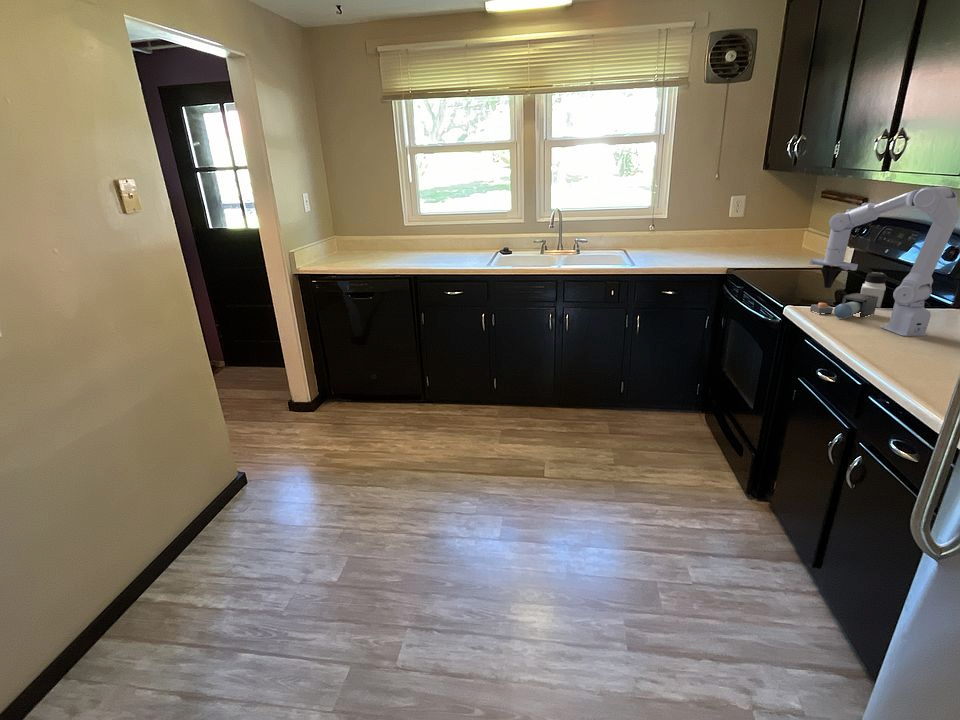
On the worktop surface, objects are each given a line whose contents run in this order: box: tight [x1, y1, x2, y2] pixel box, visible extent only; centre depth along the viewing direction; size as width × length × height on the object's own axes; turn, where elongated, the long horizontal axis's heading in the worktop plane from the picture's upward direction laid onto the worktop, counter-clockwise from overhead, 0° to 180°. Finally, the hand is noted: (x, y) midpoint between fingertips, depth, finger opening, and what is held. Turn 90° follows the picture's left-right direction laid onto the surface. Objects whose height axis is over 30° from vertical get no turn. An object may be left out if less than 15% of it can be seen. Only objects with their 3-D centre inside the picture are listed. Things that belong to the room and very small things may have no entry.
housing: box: [841, 292, 879, 318], centre depth 182 cm, size 9×7×6 cm
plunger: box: [818, 302, 828, 307], centre depth 185 cm, size 3×3×3 cm
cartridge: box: [833, 301, 863, 319], centre depth 180 cm, size 15×5×5 cm, turn 122°
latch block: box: [809, 304, 834, 314], centre depth 185 cm, size 5×5×2 cm
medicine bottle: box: [859, 272, 888, 309], centre depth 192 cm, size 7×7×12 cm
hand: (827, 287), depth 182 cm, fingers closed
